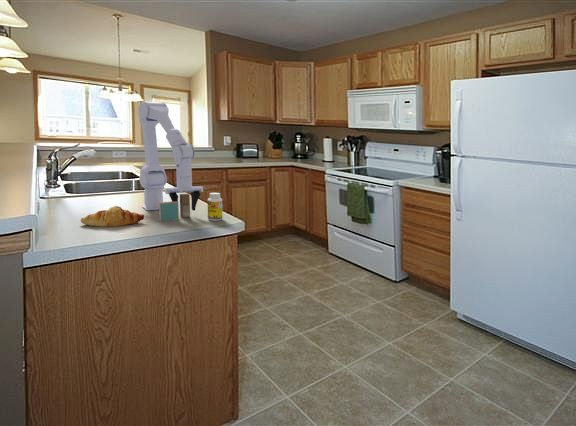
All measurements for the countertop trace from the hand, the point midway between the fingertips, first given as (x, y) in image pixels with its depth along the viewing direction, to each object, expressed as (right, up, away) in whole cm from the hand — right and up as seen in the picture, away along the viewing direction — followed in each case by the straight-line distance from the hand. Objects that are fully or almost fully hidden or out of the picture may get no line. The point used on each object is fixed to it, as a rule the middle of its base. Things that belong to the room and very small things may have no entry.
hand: (185, 210), depth 161 cm
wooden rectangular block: (0, -2, 0) cm, 2 cm away
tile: (-5, -4, -6) cm, 8 cm away
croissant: (-22, -5, -13) cm, 26 cm away
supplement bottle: (+12, -4, -3) cm, 13 cm away
